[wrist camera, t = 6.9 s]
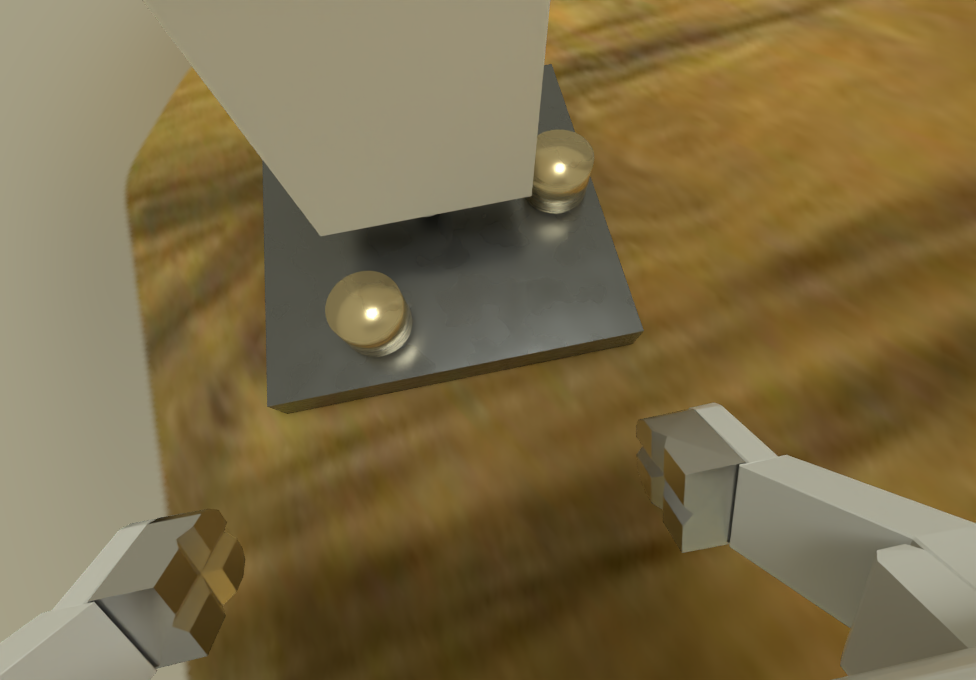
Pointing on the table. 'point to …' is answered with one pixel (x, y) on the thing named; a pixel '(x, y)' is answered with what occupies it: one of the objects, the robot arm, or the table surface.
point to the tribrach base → (445, 285)
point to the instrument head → (376, 98)
